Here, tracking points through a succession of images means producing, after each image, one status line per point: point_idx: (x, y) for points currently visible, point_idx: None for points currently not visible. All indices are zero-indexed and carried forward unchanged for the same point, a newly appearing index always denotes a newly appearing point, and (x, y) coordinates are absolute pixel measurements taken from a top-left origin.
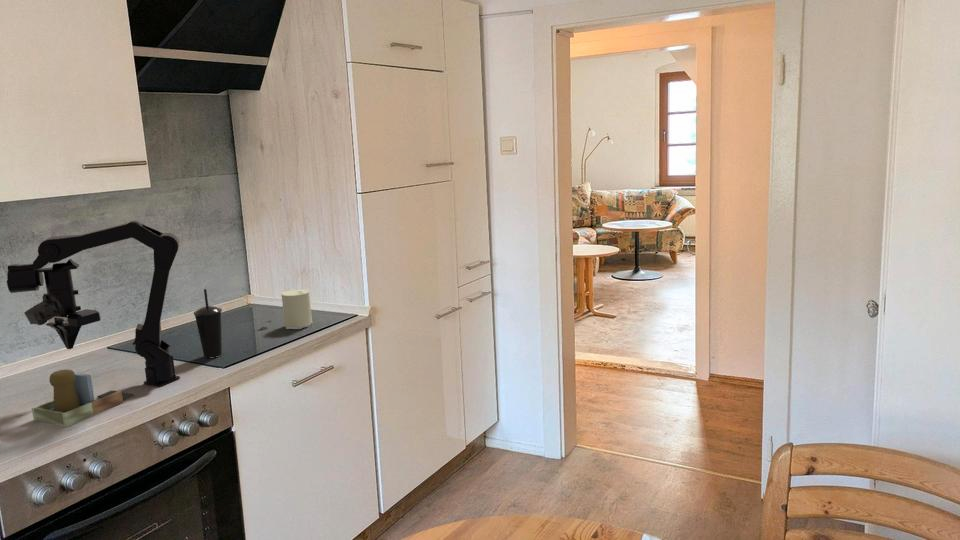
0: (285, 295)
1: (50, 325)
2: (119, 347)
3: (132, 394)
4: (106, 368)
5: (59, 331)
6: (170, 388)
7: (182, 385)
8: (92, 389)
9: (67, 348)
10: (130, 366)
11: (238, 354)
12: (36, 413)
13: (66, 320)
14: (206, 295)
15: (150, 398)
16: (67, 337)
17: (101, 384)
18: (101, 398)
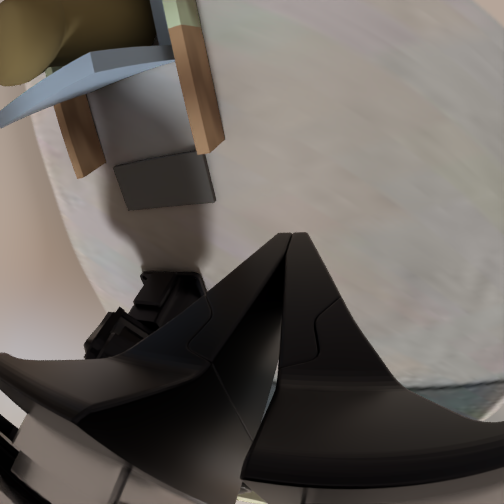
0: (244, 497)
1: (356, 463)
2: (493, 387)
3: (127, 206)
4: (436, 320)
5: (298, 359)
6: (117, 269)
7: (118, 287)
8: (41, 109)
9: (294, 234)
10: (378, 344)
11: None
12: None
13: (79, 496)
14: None
15: (86, 212)
16: (198, 299)
17: (326, 232)
18: (61, 117)
